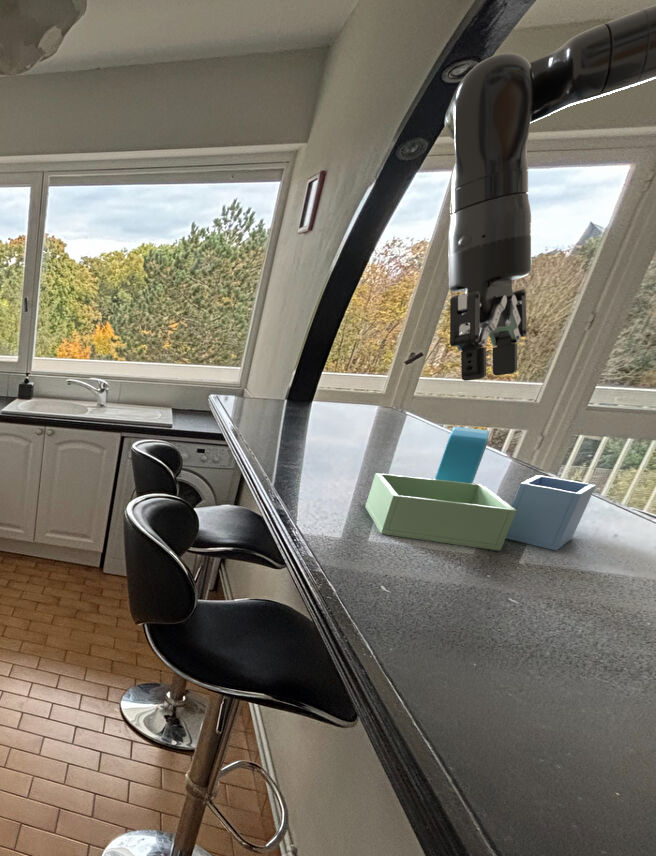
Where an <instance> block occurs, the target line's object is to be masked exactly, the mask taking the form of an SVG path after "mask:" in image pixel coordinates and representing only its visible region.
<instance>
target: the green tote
mask: <svg viewBox="0 0 656 856" xmlns="http://www.w3.org/2000/svg"><path fill="white" fill-rule="evenodd" d="M511 506H512V505H511V504H509V503H508V502H507V501H505V500H504V499H503V498H501V497H500V496H498V495H497V494H496V493H495V492H493V491H492V490H490V489H489V488H488V487H487V486H485V485H484V484H482V483H474V482H473V483H464V482H455V481H446V480H437V479H435V478H428V477H427V478H426V477H417V476H407V475H397V474H389V473H379V472H375V474H374V476H373V480H372V484H371V487H370V490H369V493H368V497H367V500H366V503H365V509H366V511H367V512H368V514H369V517H370V518H371V519H372V521H373V523H374V524H375V526H376V527H377V530H378V531H379V533H380V534H381V535H385V536H393V537H400V538H407V539H413V540H422V541H429V542H434V543H435V542H436V543H443V544H450V545H455V546H456V545H457V546H464V547H471V548H476V549H477V548H478V549H484V550H492V551H499V552H501V550H502V548H503V545H504V543H505V540H506V536H507V533H508V531H509V529H510V526H511V524H512V521H513V519H514V516H515V514H516V511H517V510H515V509H514V508H513V507H511Z"/></svg>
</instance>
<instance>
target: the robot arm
mask: <svg viewBox="0 0 656 856" xmlns="http://www.w3.org/2000/svg"><path fill="white" fill-rule="evenodd" d="M655 79H656V4H653V5H651V6H647V7H645V8H642V9H640V10H636V11H634V12H631V13H628V14H626V15H623V16H620V17H618V18H615V19H613V20H609V21H607V22H605V23H602V24H599V25H596V26H594V27H591V28H589V29H587V30H584V31H583V32H580V33H577V34H576V35H575V36H573V37H571V38H570V39H568V40H567V41H566V42H564V44H562V45H561V46H560V47H559V48H557V49H556V50H554V51H553V52H551V53H549V54H547V55H545V56H542V57H540V58H537V59H535V60H532V61H530V62H529V60H528V59H527V58H526V57H524V56H522V55H521V54H518V53H513V52H504V53H503V52H502V53H498V54H495V55H492V56H490V57H487V58H485V59H484V60H482V61H480V62H479V63H478V64H476V65H475V66H474V67H473V68H471V69H470V70H469V71H468V73H466V74H465V76H464V77H463V78H462V79H461V81H460V82H459V84H458V85H457V86H456V88H455V91H454V93H453V95H452V97H451V100H450V103H449V105H448V107H447V110H446V112H445V116H444V123H443V124H444V128H445V129H444V130H445V132H446V134H447V136H449V137H450V138H451V139H452V140H454V165H453V169H452V172H451V175H450V181H449V216H450V217H449V227H448V231H447V232H448V233H447V252H448V253H447V255H448V256H447V258H448V261H447V262H448V289H449V291H450V292H454V293H461V292H464V293H461V294H459V295H454V296H451V297H450V300H449V302H450V303H449V306H450V307H449V318H450V319H449V344H450V346H451V347H456V348H457V351H458V352H460V364H461V365H460V366H461V367H460V369H461V370H460V371H461V380H462V381H465V382H467V381H473V380H474V381H475V380H480V379H484V378H485V377H487V347H486V346H487V342H488V340H489V338H490V341H491V344H492V346H493V347H492V375H494V376H503V375H504V376H505V375H510V374H511V375H512V374H515V373H516V372H517V371H518V343H520V342H521V340H522V338H524V337H526V336H527V334H528V329H527V328H528V327H527V326H528V325H527V297H526V296H527V292H526V290H525V289H524V288H523V289H519V290H513V285H512V282H513V281H515V280H518V279H521V278H524V277H526V276H528V275H529V274H530V273H531V271H532V211H531V206H530V200H529V162H528V141H529V135H530V131H531V130H530V129H531V123H533V122H536V121H538V120H541V119H543V118H545V117H547V116H551V114H553V113H556V112H558V111H560V110H563V109H565V108H567V107H570V106H573V105H576V104H580V103H584V102H587V101H591V100H593V99H596V98H600V97H603V96H606V95H610V94H612V93H615V92H618V91H621V90H622V91H623V90H625V89H629V88H630V87H635V86H637V85H640V84H643V83H646V82H648V81H652V80H655Z"/></svg>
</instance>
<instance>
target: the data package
mask: <svg viewBox="0 0 656 856" xmlns="http://www.w3.org/2000/svg"><path fill="white" fill-rule="evenodd" d="M489 436H490V430H487V429H480V428H471V427H462V426H454V427H452V430H451V432H450V434H449V437H448V440H447V443H446V445H445V449H444V451H443V454H442V457H441V459H440V463H439V465H438V469H437V471H436V475H435V478H434V479H437V480H446V481H455V482H464V483H474V480H475V478H476V475H477V472H478V470H479V467H480V464H481V463H482V462H481V461H482V459H483V456H484V454H485V451H486V449H487V447H488V446H487V445H488V442H489Z"/></svg>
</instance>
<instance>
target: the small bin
mask: <svg viewBox="0 0 656 856" xmlns="http://www.w3.org/2000/svg"><path fill="white" fill-rule="evenodd" d="M596 486H597V484H593V483H586V482H582V481H575V480H571V479H570V480H569V479H564V478H558V477H553V476H546V475H541V474H537V475H535V476H533V477H531V478H529V479H526V480H525V481H524V480H523V481H522V482H520V484H519V487H518V489H517V491H516V494H515V496H514V499H513V501H512V504H511V505H510V506H511V507H513V508H514V509H515V510H517V511H516V514H515V516H514V519H513V521H512V524H511V526H510V529H509V531H508V533H507V536H506V538H505V540H511V541H514V542H519V543H523V544H527V545H531V546H536V547H539V548H543V549H548V550H551V551H558V550H559V549H560V548H562V547H563V546H565V545H566V544H567V543H568V542H570V541H571V540H572V539H573V537H574V535H575V532H576V531H577V529H578V526H579V524H580V522H581V520H582V517H583V515H584V512H585V511H586V509H587V507H588V504H589V502H590V500H591V497H592V495H593V493H594V491H595V489H596Z"/></svg>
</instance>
